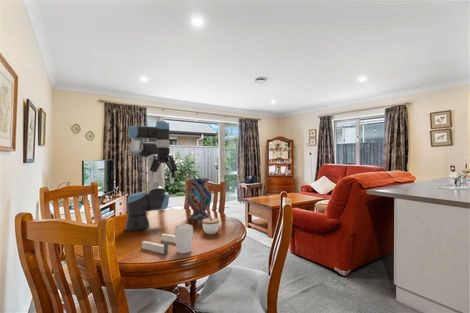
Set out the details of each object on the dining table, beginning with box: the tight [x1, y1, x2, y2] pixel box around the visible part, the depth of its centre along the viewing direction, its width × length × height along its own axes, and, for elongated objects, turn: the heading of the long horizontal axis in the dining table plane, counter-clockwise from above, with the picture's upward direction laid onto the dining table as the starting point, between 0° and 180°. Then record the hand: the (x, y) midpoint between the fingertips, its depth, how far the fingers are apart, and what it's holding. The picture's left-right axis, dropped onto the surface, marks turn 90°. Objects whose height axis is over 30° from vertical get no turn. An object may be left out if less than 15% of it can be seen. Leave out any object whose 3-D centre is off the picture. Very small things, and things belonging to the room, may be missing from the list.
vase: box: [187, 177, 212, 221], centre depth 187 cm, size 18×18×30 cm
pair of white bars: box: [141, 233, 176, 255], centre depth 126 cm, size 17×16×6 cm
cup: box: [174, 223, 194, 254], centre depth 119 cm, size 9×9×12 cm
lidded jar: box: [201, 216, 220, 235], centre depth 148 cm, size 11×11×9 cm
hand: (163, 183), depth 143 cm, fingers open, 13 cm apart
